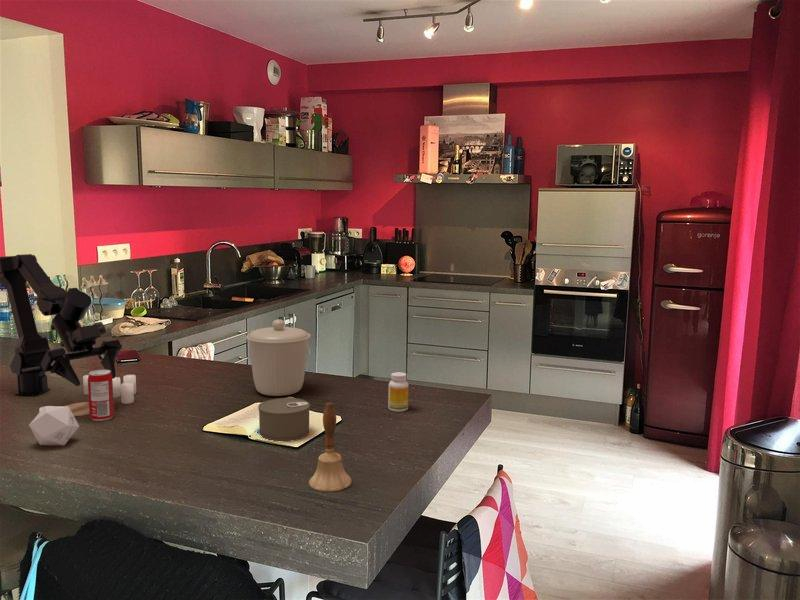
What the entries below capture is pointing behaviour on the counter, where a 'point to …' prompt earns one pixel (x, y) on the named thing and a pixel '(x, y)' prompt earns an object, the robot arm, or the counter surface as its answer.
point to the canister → (278, 358)
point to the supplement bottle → (398, 392)
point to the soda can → (100, 395)
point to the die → (54, 425)
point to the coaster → (79, 408)
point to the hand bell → (329, 459)
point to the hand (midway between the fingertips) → (97, 381)
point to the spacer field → (117, 388)
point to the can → (284, 419)
